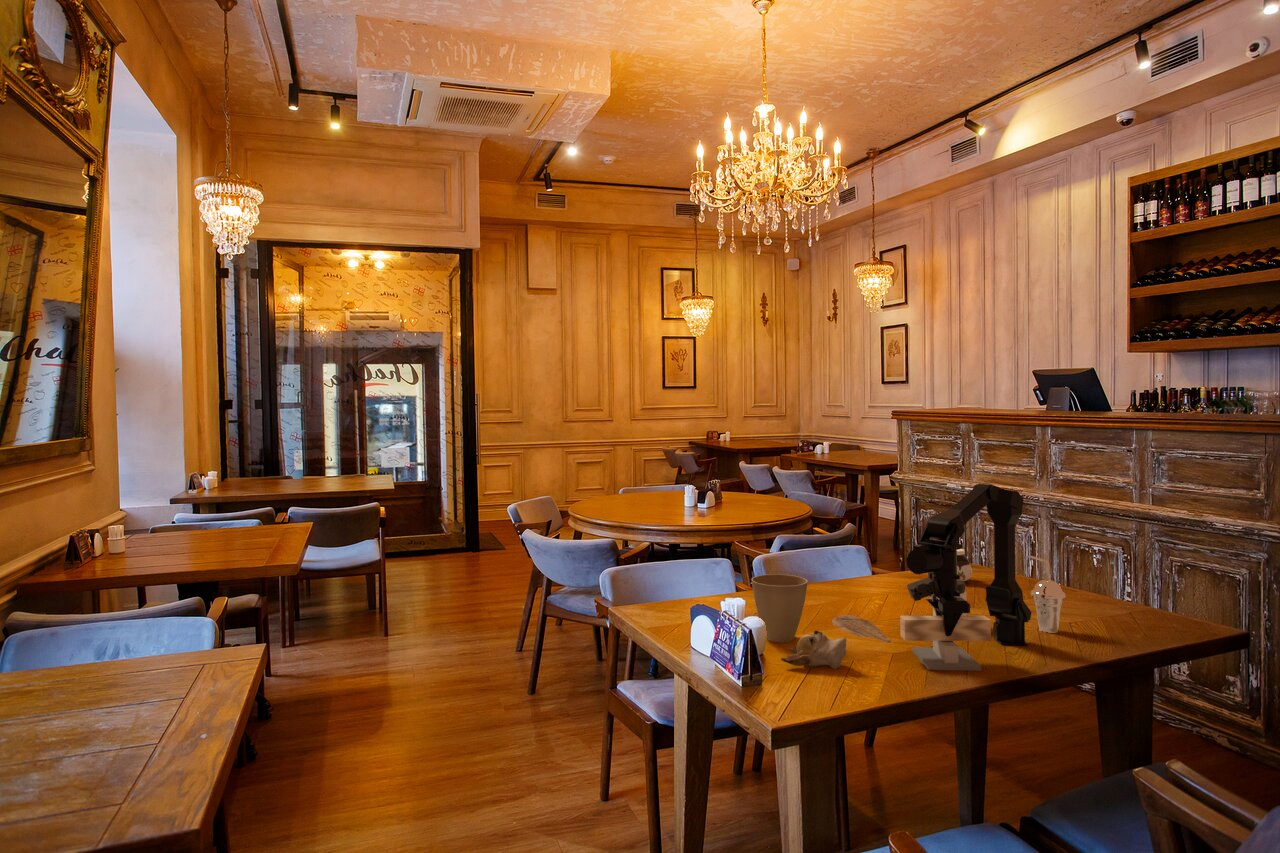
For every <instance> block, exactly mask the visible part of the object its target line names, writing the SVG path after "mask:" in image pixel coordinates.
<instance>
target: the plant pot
mask: <svg viewBox="0 0 1280 853" xmlns="http://www.w3.org/2000/svg"><path fill="white" fill-rule="evenodd" d="M808 583H809V582H808V579H806V578H804V577H801V576H797V575H792V574H779V573H777V574H775V573H771V574H770V573H769V574H761V575H756V576H753V577H752V578H751V584H752V585H751V586H752V593H753V599H754V604H755V607H756V608H755V609H756V612H757V616H758V619H759V618H761V619H762V620H763V621H764V622H765V625H766V631H767V639H766V640H768V641H770V642H774V643H789V642H792V641H794V639H795V637H796V633H797V630H798V628H799V626H800V622H801V618H802V614H803V611H804V608H805V607H804V606H805V602H806V598H807V597H806V596H807V591H808Z"/></svg>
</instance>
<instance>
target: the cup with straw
mask: <svg viewBox="0 0 1280 853" xmlns="http://www.w3.org/2000/svg"><path fill="white" fill-rule="evenodd" d="M1027 558H1029V559H1032V560H1036V561H1040V562H1043V563H1045V564H1046V579H1043V580H1039V581H1038V582H1037V583H1036V584H1035V585H1034V587H1033V589H1031V590H1030V595H1031V596H1033V601H1034V604H1035V610H1036V611H1035V612H1036V618H1037V624H1038V626H1039V628H1038V631H1040V632H1042V631H1043V633H1046V632H1048V634H1056V633H1059V630H1058V629H1059V625H1060V616H1061V609H1062V604H1063V599H1065V598H1066V597H1067V596H1066V593H1065V592H1064V591H1063V589H1062V587H1061V586H1060V585H1059V583H1058V582H1055V581H1054V580H1051V579H1050V578H1051V576H1050V575H1051V574H1050V572H1051V570H1050V569H1051V568H1050V562H1049V561H1048V560H1047V559H1044V558H1041V557H1036V556H1034V555H1030V554H1029V555H1028V557H1027Z"/></svg>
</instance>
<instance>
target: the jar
mask: <svg viewBox="0 0 1280 853" xmlns="http://www.w3.org/2000/svg"><path fill="white" fill-rule="evenodd" d="M957 591H959V592H960V597H962V598H963V599H964V600H966V601H967V591H966V583H964V582H963V581H960V580H957ZM932 608H933V609H932V614H933V615H932V616H936V614H935V610H934V607H933V606H932ZM967 614H968V613H962V615H961V616H968V615H967Z"/></svg>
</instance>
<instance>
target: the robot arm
mask: <svg viewBox="0 0 1280 853" xmlns="http://www.w3.org/2000/svg"><path fill="white" fill-rule="evenodd" d="M1024 502H1025V501H1024V497H1023V495H1022V494H1021V493H1020V492H1019V491H1017V490H1012V489H1011V490H1010V489H1005V488H1001V487H999V486H998V485H994V484H990V483H989V484H988V483H977V484H975V485H973V487H972V489H971V490H970V491H969V492H968V493H967V494H966V495H965V496H964V497H962V498H961V499H960V500H959V501H958V502H956V503H955V504H954V505H953V506H952V507H951V508H949V509H948V510H944V511H942V512H937V513H936V514H934V515H932V516H930V517H929V519H927V521H926V525H925V526H924V529H923V530H922V533H921V535H920V537H919V540H918V543H917V544H913V550H911V551H909V552H908V555H907V557H906V565H907V568H908V569H909V570H910V571H911V573H913V574H915V575H923V574H927V577H926V578H923V579H918V580H917V581H916V580H915V581H914V582H910V583H908V584H907V585H906V588H907V590H908V592H909V596H910V598H912V600H913V601H914V602H918V601H921V600H922V599H924V598H925V599H926V601H927V603H929V605H931V607H932V608H933V607H934V610H935V614H936V616H942V619H943V625H944V630H945V635H946V636H951V634H952V632H953V630H954V628H955V626H956V624H957V622H958V620H959V619H960V617H961V615H962V613H967V614H970V613H971V604H970V603H969V602H968V601H967V599H966V600H964V599H963V598H962V597H960V592H959V591H957V579H960V575H959V574H957V550H958V549H963V546H962V545H961V544H960V543H959V542H958V541H959V540H960V539H961V537H962V536H963V535H964V533H965V532H966V525H967V523H968V522H970V521H971V519H973V518H974V517H975V516H976V515H977V514H978V513H979V512H980V511H981V510H983V509H984V508H985V507H986V512H987V515H988V516H989V518H990V520H991V521H992V522H993V552H994V553H993V562H994V564H993V565H994V566H993V569H994V570H993V571H994V572H993V574H994V575H993V576H994V577H993V581H991V583H990V584H989V585H986V586H985V602H986V606H987V609H988V614H989V616H990V617H994V619H995V621H994V622H993V623H992V624H993V626H992V629H993V633H992V634H993V636H992V639H993V640H995V641H996V642H998V643H999V644H1001V645H1002V646H1006V645H1007V646H1010V645H1011V646H1028V645H1029V644H1028V643H1029V642H1027V641H1026V635H1025V634H1026V629H1025V628H1026V627H1025V626H1026V623H1028V622H1029V621H1030V620H1031V619H1032V618H1031V617H1032V611H1031V610H1030V608H1029V607H1028V605H1027V604H1026V602H1025V601H1024V595H1023V590H1022V589H1021V587H1020V585H1019V583H1018V581H1017V580H1016V523H1017V522H1018V521H1019V520H1020V518H1021V516H1022V514H1023V505H1024ZM927 597H928V599H927Z"/></svg>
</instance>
